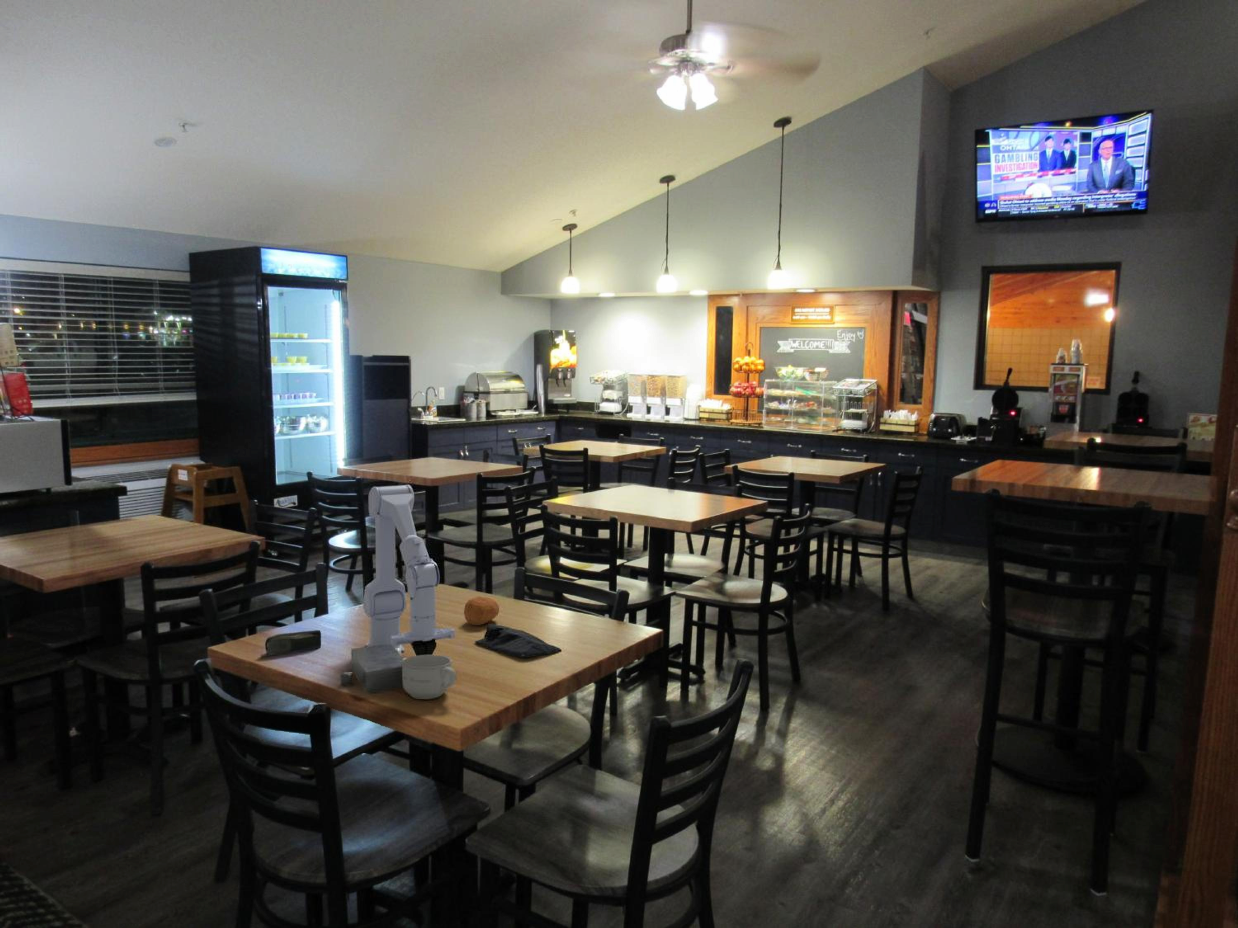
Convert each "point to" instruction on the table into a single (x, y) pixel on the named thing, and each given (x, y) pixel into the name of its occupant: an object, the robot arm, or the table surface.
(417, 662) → the teacup
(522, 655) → the black cloth
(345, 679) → the black dial
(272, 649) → the dark green rounded block
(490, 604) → the potato
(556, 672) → the table surface
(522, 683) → the table surface
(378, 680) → the rack
